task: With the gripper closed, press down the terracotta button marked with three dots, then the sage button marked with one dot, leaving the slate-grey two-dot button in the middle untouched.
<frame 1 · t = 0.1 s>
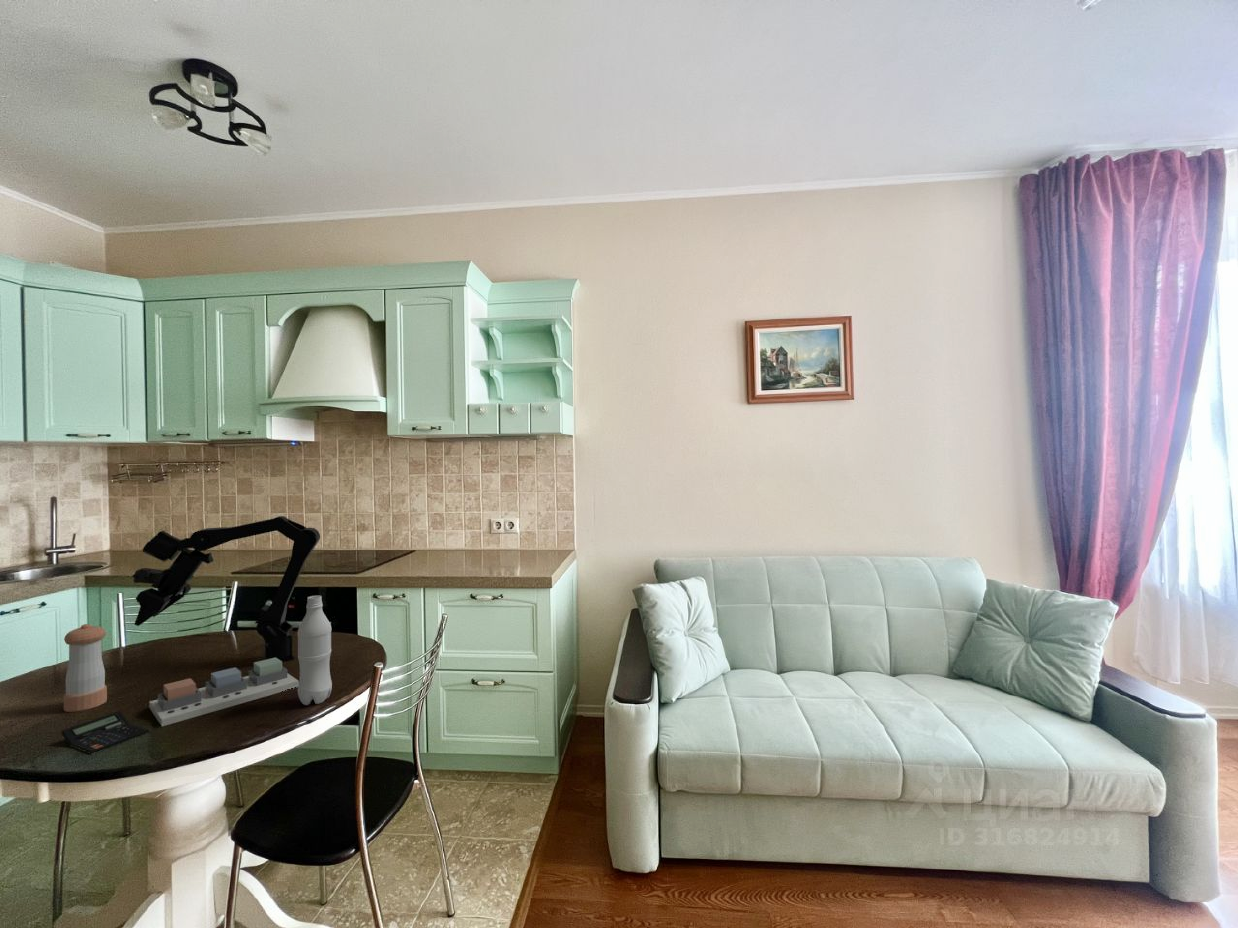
hand: (144, 620, 145), 15 cm above the table, tool tilted 35°, fingers open, 9 cm apart
button board: (227, 696, 131), on the table
calculator: (106, 739, 112), on the table
one dot button: (268, 666, 139), point 4 cm above the table, slide at 0.0 cm
three dot button: (179, 689, 125), point 4 cm above the table, slide at 0.0 cm
two dot button: (226, 677, 132), point 4 cm above the table, slide at 0.0 cm
water bottle: (315, 701, 129), on the table
pepper shaker: (85, 705, 127), on the table
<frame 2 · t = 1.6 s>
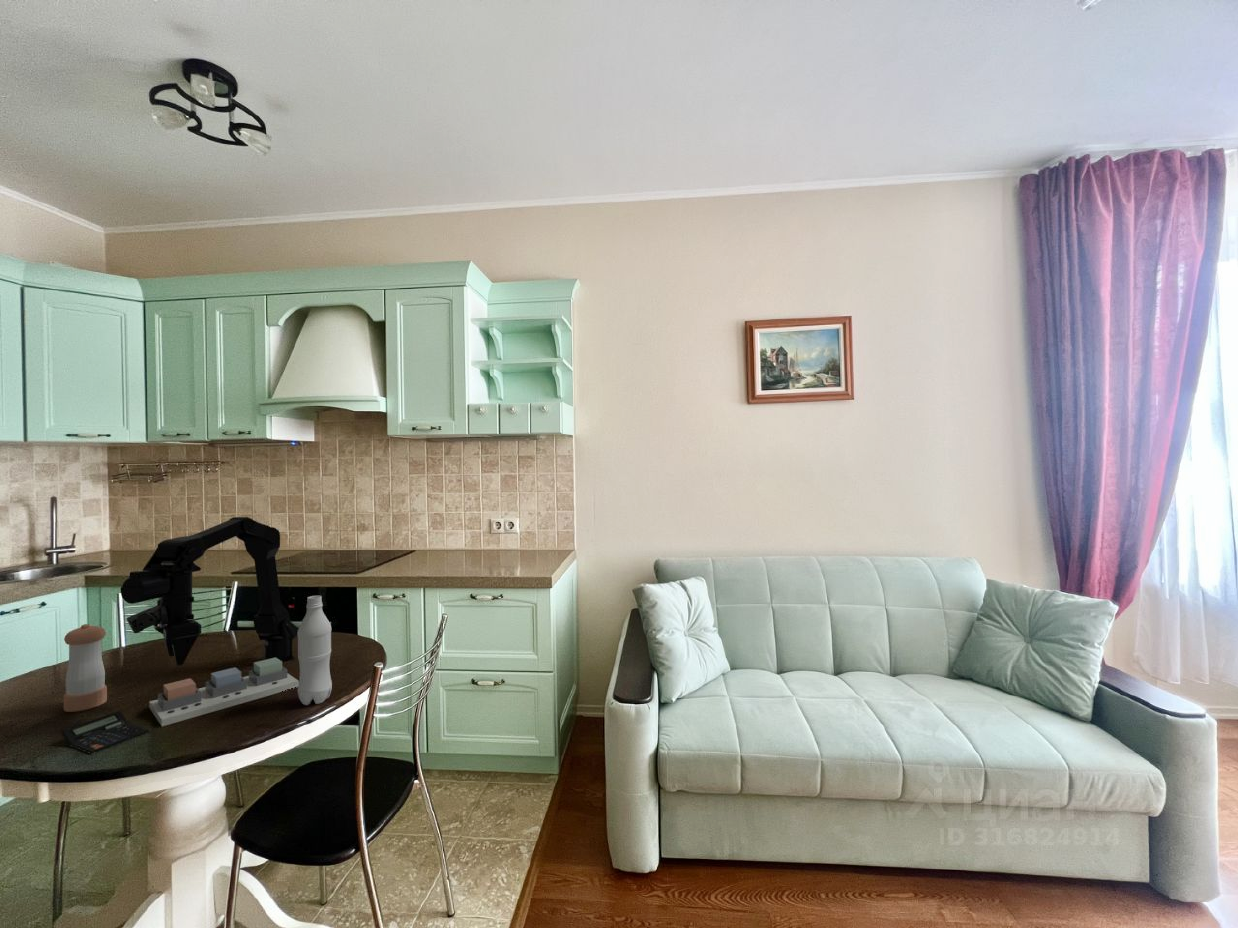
hand: (175, 660, 125), 11 cm above the table, tool pointing down, fingers open, 9 cm apart
nothing on the table moved.
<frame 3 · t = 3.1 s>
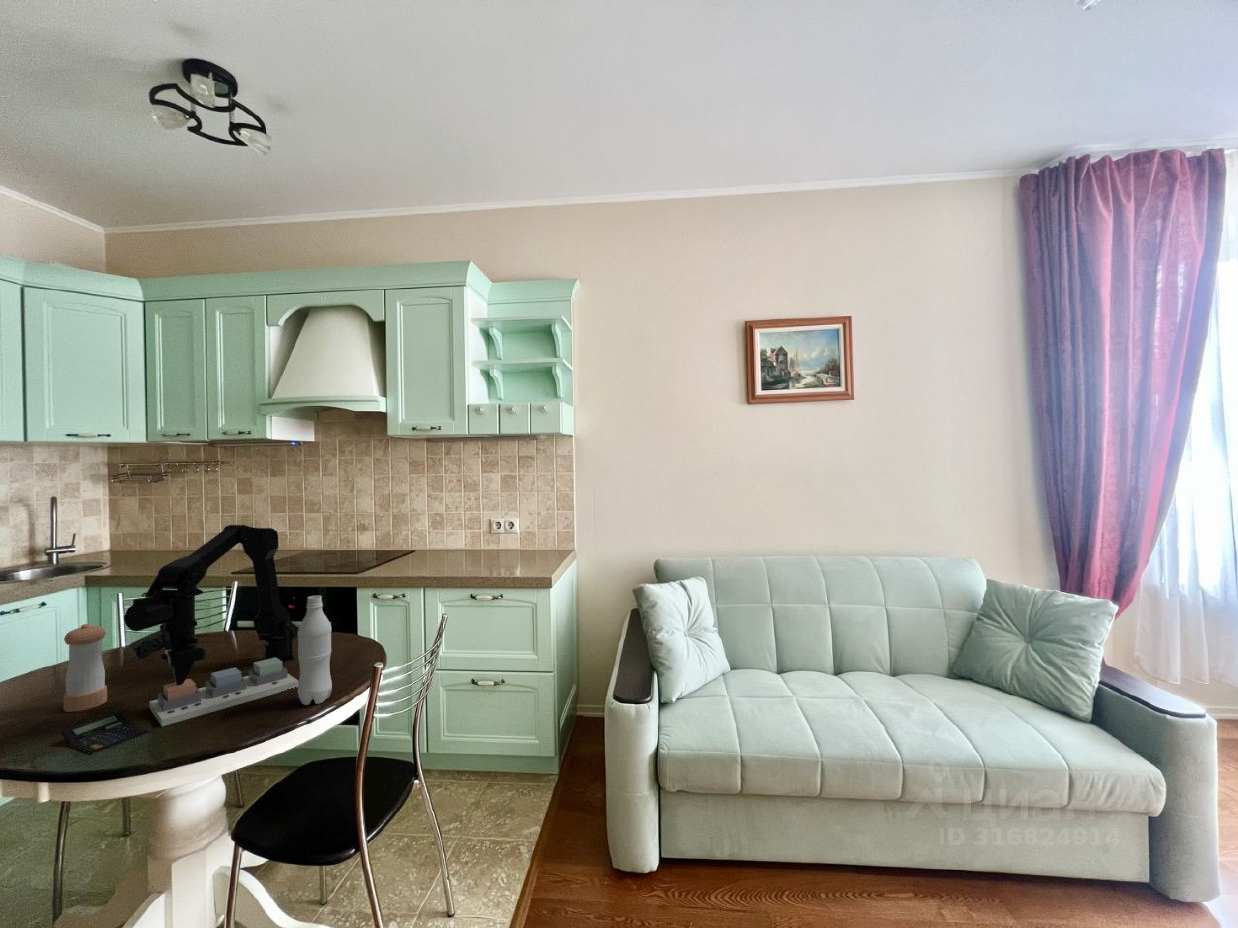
hand: (179, 684, 125), 6 cm above the table, tool pointing down, fingers closed, pressing on three dot button
three dot button: (179, 689, 125), point 4 cm above the table, slide at 0.1 cm, touching gripper
everything else where it was.
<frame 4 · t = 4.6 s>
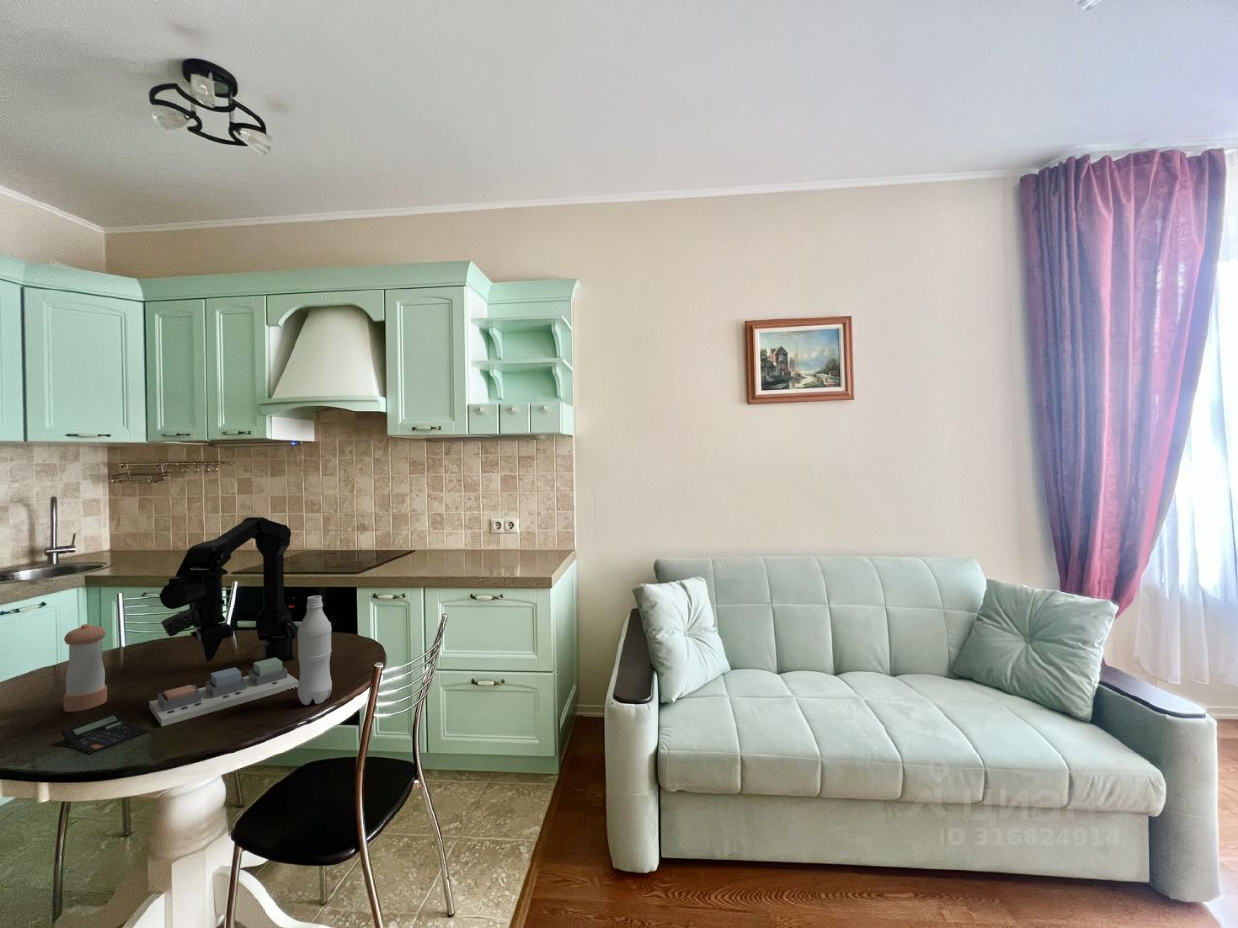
hand: (208, 660, 129), 9 cm above the table, tool pointing down, fingers closed
three dot button: (179, 696, 125), point 3 cm above the table, slide at 1.5 cm
everything else where it was.
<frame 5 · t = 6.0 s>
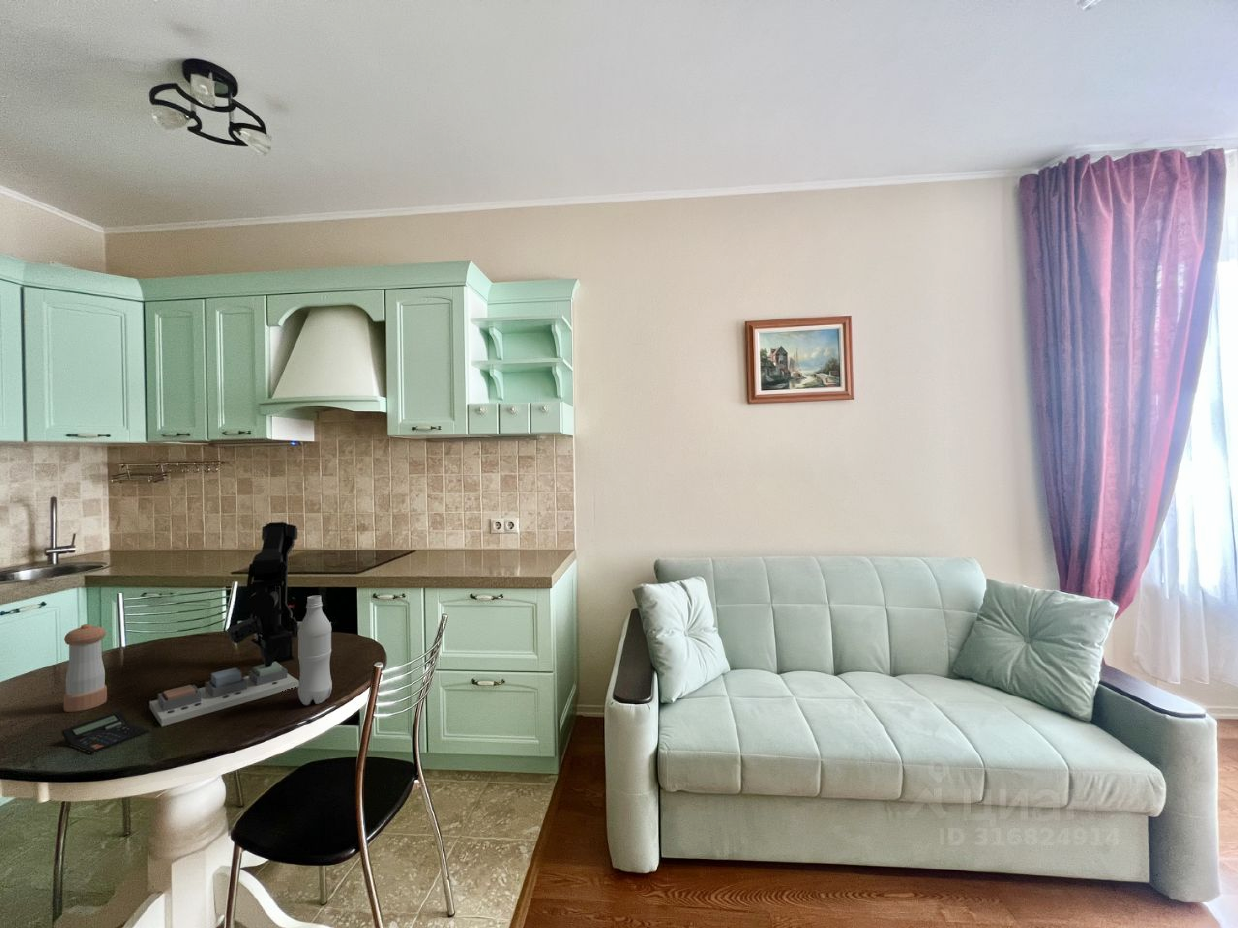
hand: (268, 666, 139), 5 cm above the table, tool pointing down, fingers closed, pressing on one dot button
one dot button: (268, 671, 139), point 3 cm above the table, slide at 1.1 cm, touching gripper
everything else where it was.
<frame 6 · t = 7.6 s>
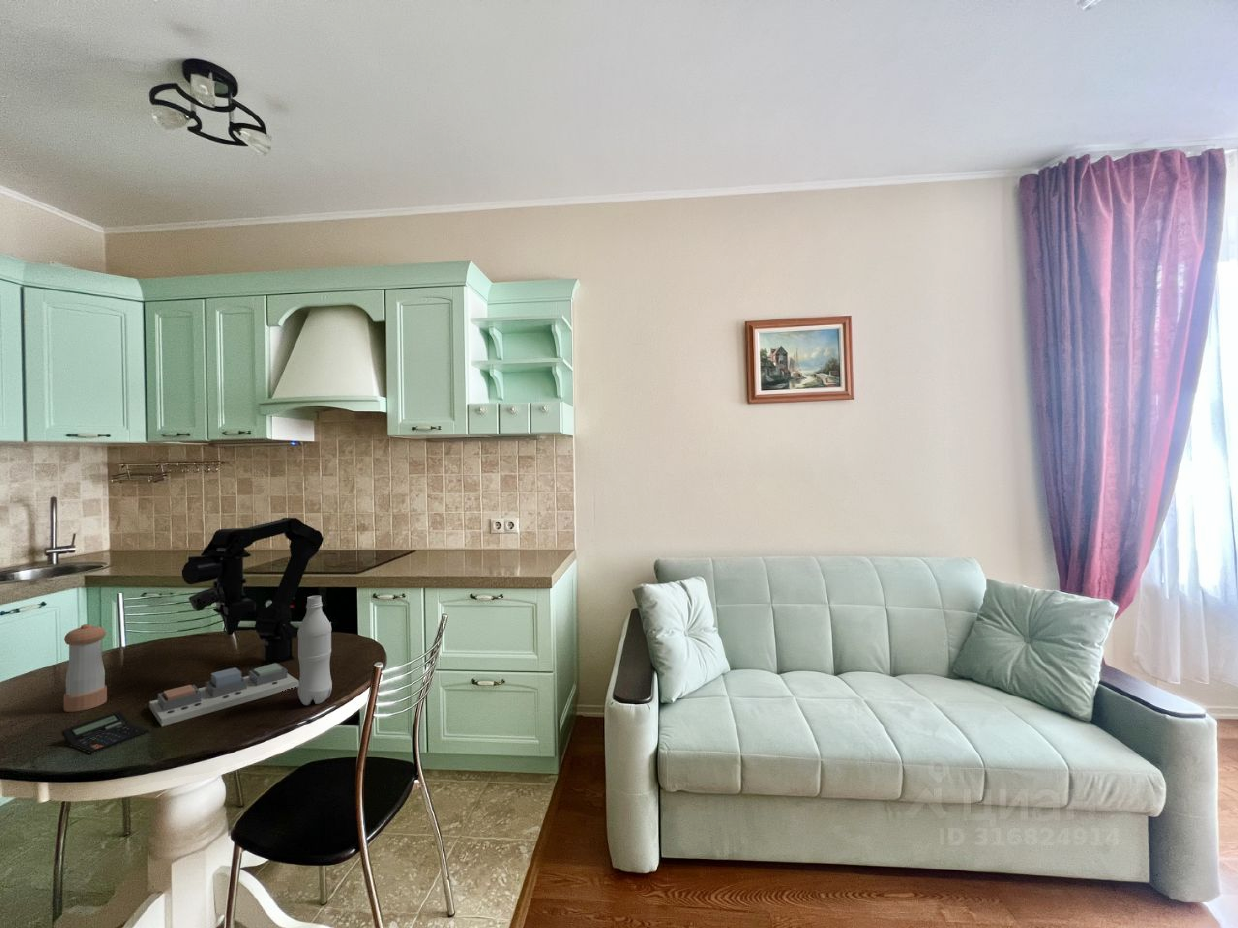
hand: (230, 634, 142), 12 cm above the table, tool pointing down, fingers closed
one dot button: (268, 673, 139), point 3 cm above the table, slide at 1.6 cm
everything else where it was.
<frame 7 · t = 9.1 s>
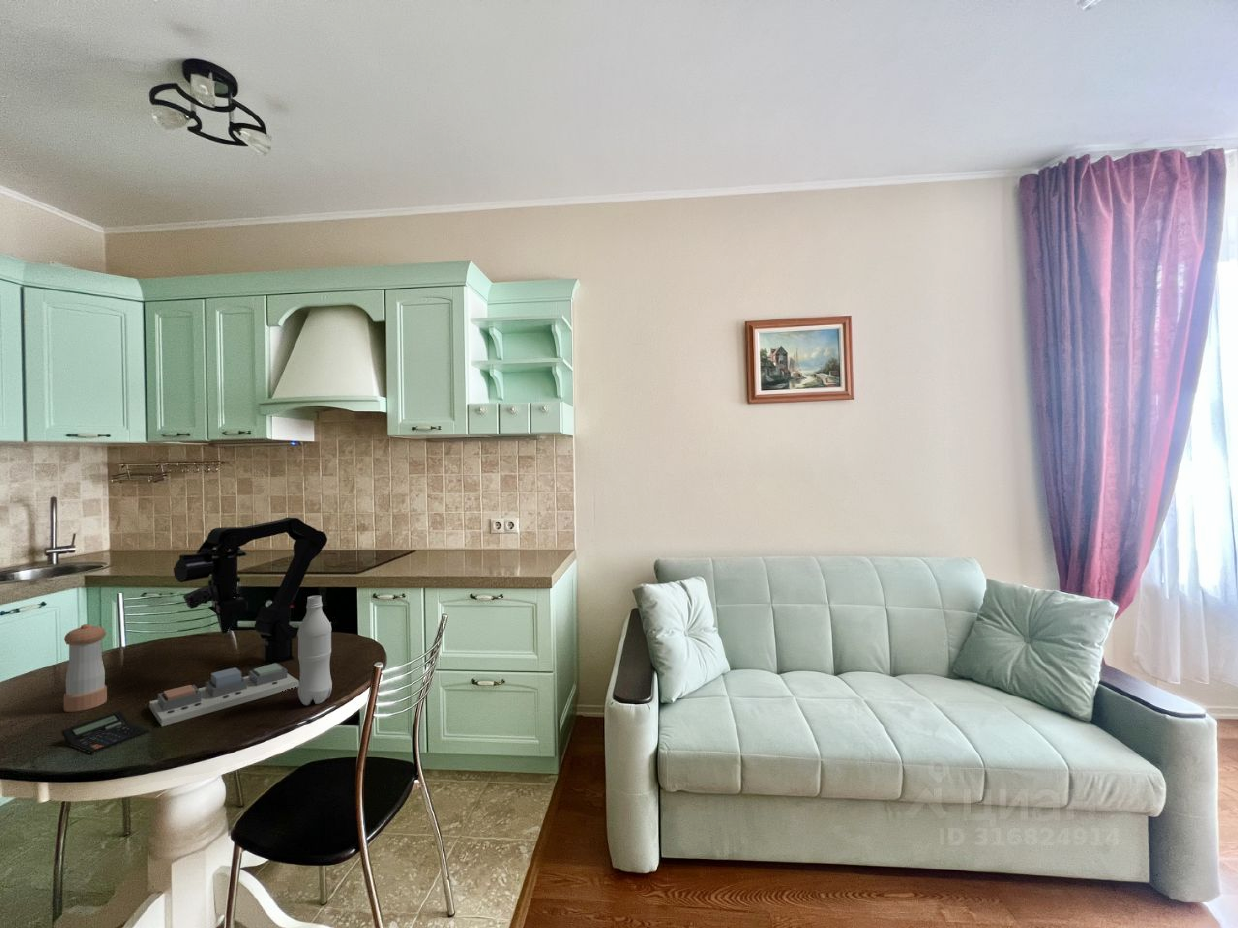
hand: (224, 632, 143), 12 cm above the table, tool pointing down, fingers closed
nothing on the table moved.
at the end: three dot button slide at 1.5 cm; one dot button slide at 1.6 cm; two dot button slide at 0.0 cm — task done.
